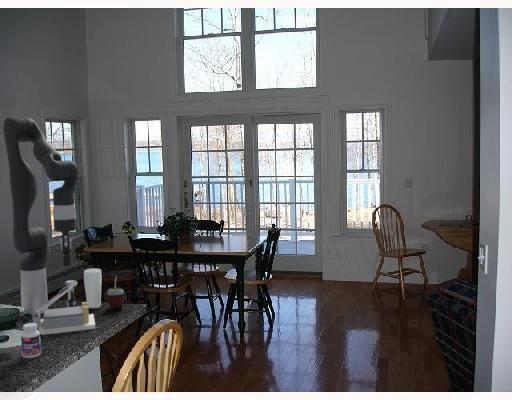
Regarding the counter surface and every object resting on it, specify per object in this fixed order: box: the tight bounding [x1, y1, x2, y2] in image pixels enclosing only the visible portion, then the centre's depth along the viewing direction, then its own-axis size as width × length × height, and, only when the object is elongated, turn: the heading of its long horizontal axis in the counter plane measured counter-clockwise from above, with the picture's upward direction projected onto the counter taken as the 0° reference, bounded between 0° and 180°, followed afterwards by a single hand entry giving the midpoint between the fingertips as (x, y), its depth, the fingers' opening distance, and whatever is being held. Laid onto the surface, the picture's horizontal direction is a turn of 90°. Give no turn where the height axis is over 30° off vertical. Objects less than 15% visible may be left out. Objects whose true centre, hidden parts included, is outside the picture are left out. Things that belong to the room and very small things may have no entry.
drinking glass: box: [83, 268, 103, 309], centre depth 218 cm, size 7×7×15 cm
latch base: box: [32, 301, 96, 336], centre depth 195 cm, size 22×13×7 cm, turn 109°
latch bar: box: [34, 280, 78, 317], centre depth 194 cm, size 18×4×2 cm
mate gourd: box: [105, 274, 126, 312], centre depth 215 cm, size 8×8×15 cm
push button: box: [63, 279, 78, 308], centre depth 220 cm, size 7×5×10 cm
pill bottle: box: [20, 322, 42, 359], centre depth 169 cm, size 5×5×10 cm
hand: (67, 265), depth 194 cm, fingers closed
